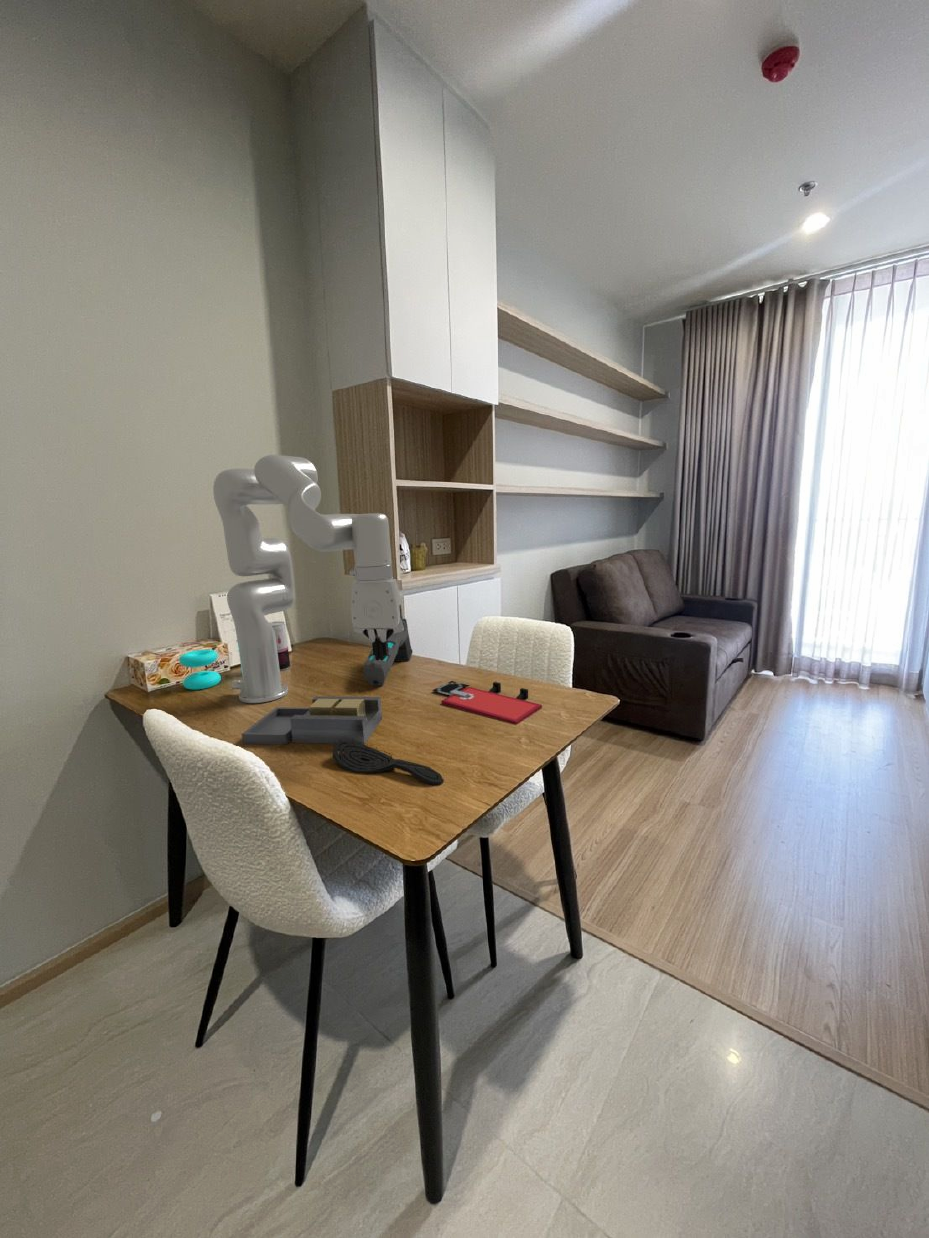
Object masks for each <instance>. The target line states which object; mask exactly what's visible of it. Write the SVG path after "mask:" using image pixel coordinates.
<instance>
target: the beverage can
mask: <svg viewBox="0 0 929 1238" xmlns="http://www.w3.org/2000/svg"><path fill="white" fill-rule="evenodd" d="M269 623H270V624H271V625H272V627H273V629H274V631H275V637H276V645H277V653H278V661H279V669H280V672H283V671H286V670H288V669H289V668H290V667H291V658H290V652H289V645H288V643H289V642H288V637H287V636H288V635H287V628H286V622H285V621H271V622H269Z"/></svg>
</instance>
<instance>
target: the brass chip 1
mask: <svg viewBox="0 0 929 1238" xmlns="http://www.w3.org/2000/svg"><path fill="white" fill-rule="evenodd" d="M338 704H339V699H317V700H316V701H315V702H314V703H312V704H311V705H310V706H308V708H309V713H310V715H335V716H336V714H335V707H336V706H337V705H338Z"/></svg>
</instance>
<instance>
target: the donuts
mask: <svg viewBox="0 0 929 1238" xmlns="http://www.w3.org/2000/svg"><path fill="white" fill-rule="evenodd" d="M218 656H219V655H218V653H217V651H216V650H214V649H198V650H193V651H189V652H185V653H184V654H182V655H180V657H179V658H178V659H179V664H180V665H182V666H183V667H185V668H202V667H205V666H209V665H211V664H213V663H214V662H216V661H217V659H218ZM221 680H222V677H221V675H220V673H218V672H216V671H214V670H203V671H202V670H201V671H197V672H196V671H195V672H194V673H191V674H189V675H187V676H186V677H185V678H184V680H183V683H182V684H183V687H184V688H185V689H188V690H193V691H194V690H196V691H197V690H204V689H209V688H212V687H215V686H216V685H218V684H219V683H220V682H221Z"/></svg>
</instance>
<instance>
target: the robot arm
mask: <svg viewBox="0 0 929 1238" xmlns="http://www.w3.org/2000/svg"><path fill="white" fill-rule="evenodd" d="M318 481H319V475H318V470H317V468H316V466H315V465H314V463H313V462H311V461H310V460H309V459H307V458H306V457H305V458H304V457H302V456H294V455H293V456H292V455H281V454H269V455H265V456H263V457H261V458H259V459H258V460H257V461H256V463H255V465H254V468H253V469H252V468H229V469H225V470H223V471H221V472H219V473H218V474H217V475H216V478H215V479H214V481H213V487H212V488H213V490H212V491H213V493H212V494H213V499H214V503H215V505H216V508H217V511H218V514H219V516H220V518H221V522H222V526H223V533H224V539H225V540H224V541H225V547H226V553H227V555H226V556H227V561H228V565H229V569H230V571H231V573H232V574H234V575H235V576H238V577H253V576H261V575H267V576H268V578H266V579H265V578H264V579H255V580H249V581H243V582H240V583H236V584H234V585H233V586H232V587H230V589H228V592H227V593H226V594H227V595H226V601H227V605H228V609H229V611H230V614H231V617H232V620H233V624H234V629H235V635H236V641H237V647H238V653H239V655H238V656H239V661H240V668H241V675H242V680H240V679H234V680H232V683H231V684H232V685H231V689H232V690H240V692H239V695H238V699H239V701H240V702H242V703H245V704H261V703H267V702H271V701H275V700H277V699H280V698H282V697H285V696H286V695H287V694H288V693H289V687H288V686H287V685H286V684H284V683H283V684H282V678H281V677H282V676H281V671H280V669H279V661H278V653H277V645H276V637H275V631H274V629H273V627H272V625H271V624H270V622H269V621H268V619H267V618H266V617H265V616H267V615H271V614H277V613H280V612H285V611H288V610H289V609H291V608H292V607H293V606H294V604H295V601H296V590H295V580H294V579H295V577H294V569H293V562H292V556H291V551H290V550H289V547H288V546H287V545H286V543H285V542H284V541H283V540H282V539H280V538H277V537H262V535H261V528H260V523H259V520H258V518H257V516H256V515H255V513H254V512H253V511H252V509H251V508H250V507H249V506H248V505H281V504H282V505H283V506H284V507H285V508H286V509H287V519H288V523H289V525H290V528H291V530H292V531H293V533H294V534H295V535H296V536H297V537H298V538H299V539H301V541H303V542H304V543H305V544H306V545H307V546H308V547H310V548H312V549H313V550H315V551H318V552H323V553H324V552H325V553H326V552H334V551H335V552H336V551H346V550H347V551H349V550H353V556H354V557H353V558H354V567H353V568H350V569H349V571H348V572H349V573H348V574H349V576H352V577H354V579H355V581H354V580H353V581H352V583H351V584H352V585H351V598H350V600H351V601H350V612H351V613H350V614H351V615H350V617H351V625H352V627H353V632H355V633H358V634H360V635H362V634H363V635H364V636H365V637H367V638H368V640H369V641H370V642H371V645H372V646H371V647H372V649H373V655H375V659H376V660H379V659H380V660H384V659H385V658H386V657H387V655H388V653H389V650H388V639H389V637H390V636H391V635H392V634H394V633H398V632H402V631H403V630H404V626H403V623H402V620H403V619H404V618H403V617H404V616H403V613H404V612H403V606H402V600H401V594H400V589H399V586H398V583H397V579H396V578H394V574H393V573H394V572H393V565H392V563H393V561H392V550H391V538H390V537H391V536H390V525H389V524H390V523H389V518H388V517H387V515H386V514H384V513H381V512H380V513H359V514H358V513H332V514H331V513H330V514H322V513H319V512H317V511H316V509H317V508H318V506H319V505H320V503H321V500H322V499H321V498H322V492H321V491H322V490H321V488H320V486H319V485H318ZM378 630H380V635H379V631H378ZM380 636H381V638H380Z"/></svg>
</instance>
